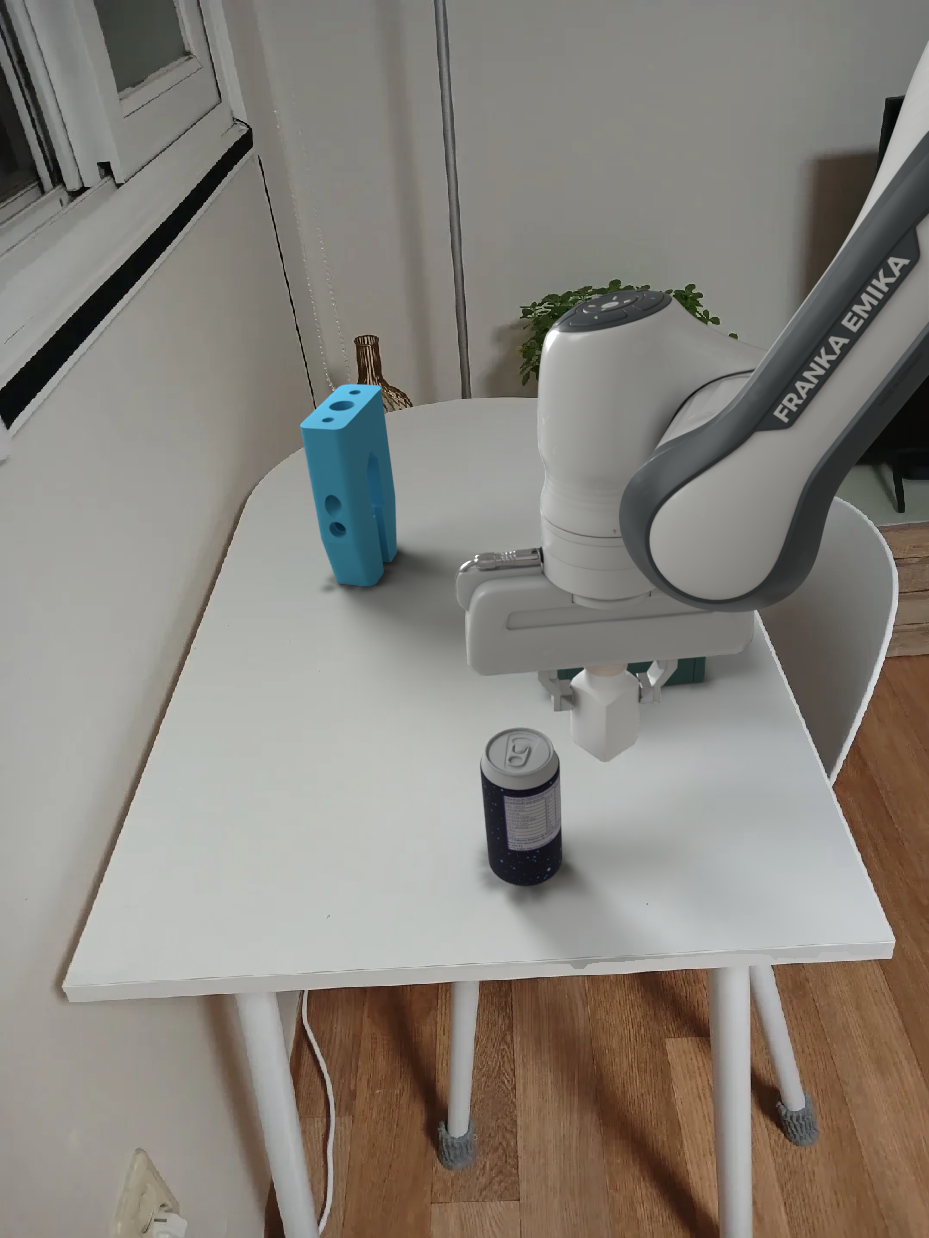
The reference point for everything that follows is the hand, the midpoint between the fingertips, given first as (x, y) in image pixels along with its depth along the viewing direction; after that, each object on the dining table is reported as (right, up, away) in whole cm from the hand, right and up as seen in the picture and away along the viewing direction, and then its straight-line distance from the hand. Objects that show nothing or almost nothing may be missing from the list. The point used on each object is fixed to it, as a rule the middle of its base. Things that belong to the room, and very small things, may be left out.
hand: (605, 702), depth 71 cm
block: (-22, +12, +41) cm, 48 cm away
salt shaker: (0, -3, +2) cm, 4 cm away
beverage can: (-6, -13, +2) cm, 14 cm away
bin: (+5, +4, +25) cm, 25 cm away
